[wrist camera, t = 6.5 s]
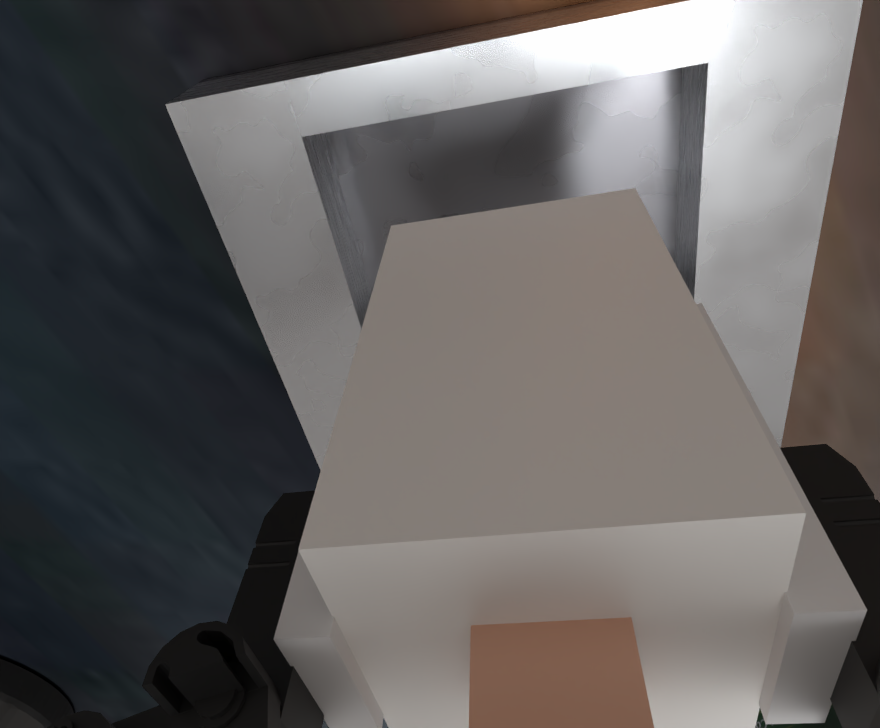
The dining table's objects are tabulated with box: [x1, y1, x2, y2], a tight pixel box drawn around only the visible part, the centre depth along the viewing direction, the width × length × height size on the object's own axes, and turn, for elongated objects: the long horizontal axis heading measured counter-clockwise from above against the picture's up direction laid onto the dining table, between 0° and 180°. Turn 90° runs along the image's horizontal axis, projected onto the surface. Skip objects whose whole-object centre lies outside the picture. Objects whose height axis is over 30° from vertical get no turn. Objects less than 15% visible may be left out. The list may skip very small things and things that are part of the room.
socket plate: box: [165, 0, 863, 470], centre depth 23 cm, size 18×22×3 cm
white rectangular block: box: [298, 188, 806, 728], centre depth 11 cm, size 6×6×10 cm
